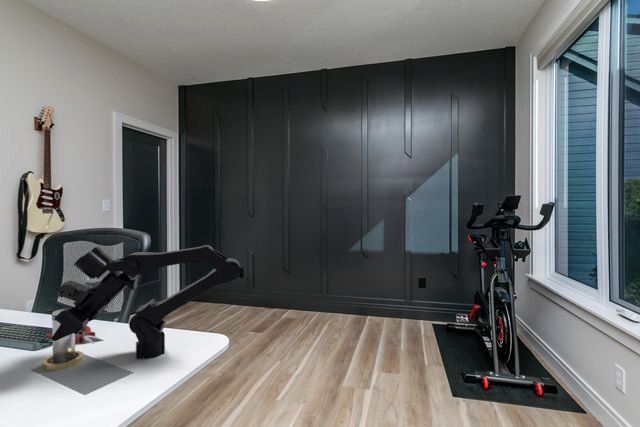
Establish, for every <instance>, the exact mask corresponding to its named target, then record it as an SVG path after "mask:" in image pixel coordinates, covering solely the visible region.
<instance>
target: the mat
mask: <svg viewBox="0 0 640 427" xmlns="http://www.w3.org/2000/svg"><path fill="white" fill-rule="evenodd" d="M50 364H53V362H52V363H50ZM30 371H32V372H34V373H37V375H38V374H39V375H41V376H43V377H44V378H46V379H49V380H51V381H54V382H55V383H58V384H60V385H62V386H64V387H67V388H68V389H71V390H73V391H75V392H78V393H79V394H81V395H84V396H87V395H89V394H91V393H93V392H95V391H97V390H99V389H102V388H104V387H106V386H108V385H111V384H113V383H115V382H117V381H119V380H121V379H123V378H126V377H128V376H130V375H133V374H134V373H135V372H133V371H132V370H129V369H126V368H123V367H121V366H117V365H115V364H111V363H109V362H106V361H104V360H101V359H99V358H95V357H93V356H90V355H88V354H84V353H83V360H82V362H81V363H79V364H78V365H76V366H73V367H70V368H68V369H63V370H58V371H46V370H43V364H42V365H39V366H36V367H34V368H30Z"/></svg>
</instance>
